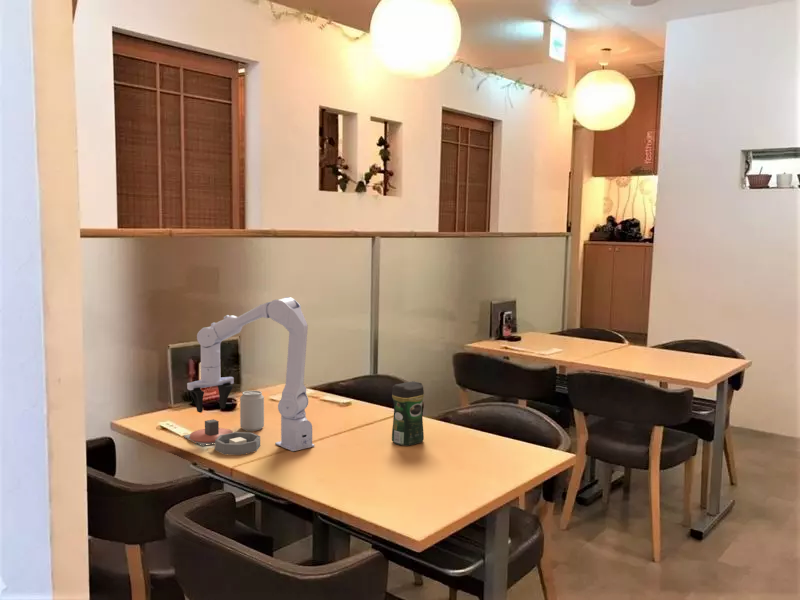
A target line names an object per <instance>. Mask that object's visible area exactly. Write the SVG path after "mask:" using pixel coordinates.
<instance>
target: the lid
mask: <svg viewBox="0 0 800 600" xmlns="http://www.w3.org/2000/svg"><path fill="white" fill-rule="evenodd" d="M219 426H220V425H219V421H218V420H216V419H214V418H213V419H209V420H208V419H207V420H204V428H202V429H198V430H194V431H192V432H191V433H190V439H191V440H193V441H195V442H203V443H212V442H215V440H216V439H217V438H218V437H219V436H220V435H223V434H228V433H233V432H234V431H233V430H231V429H228V428H221V427H219ZM195 442H194V443H195Z"/></svg>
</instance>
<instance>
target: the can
mask: <svg viewBox="0 0 800 600" xmlns="http://www.w3.org/2000/svg"><path fill="white" fill-rule="evenodd" d="M262 393H263V392H262V391H260V390H246V391H243V392H242V393H241V396H240V398H239V401H240V403H239V411H240V413H239V415H240V416H239V417H240V420H239V421H240V422H239V425H240V428H241V429H242V430H243V431H245V430H247V431H246V432H257V431H260V430H262V428H264V426H265V396H264V395H263V394H262Z"/></svg>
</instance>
